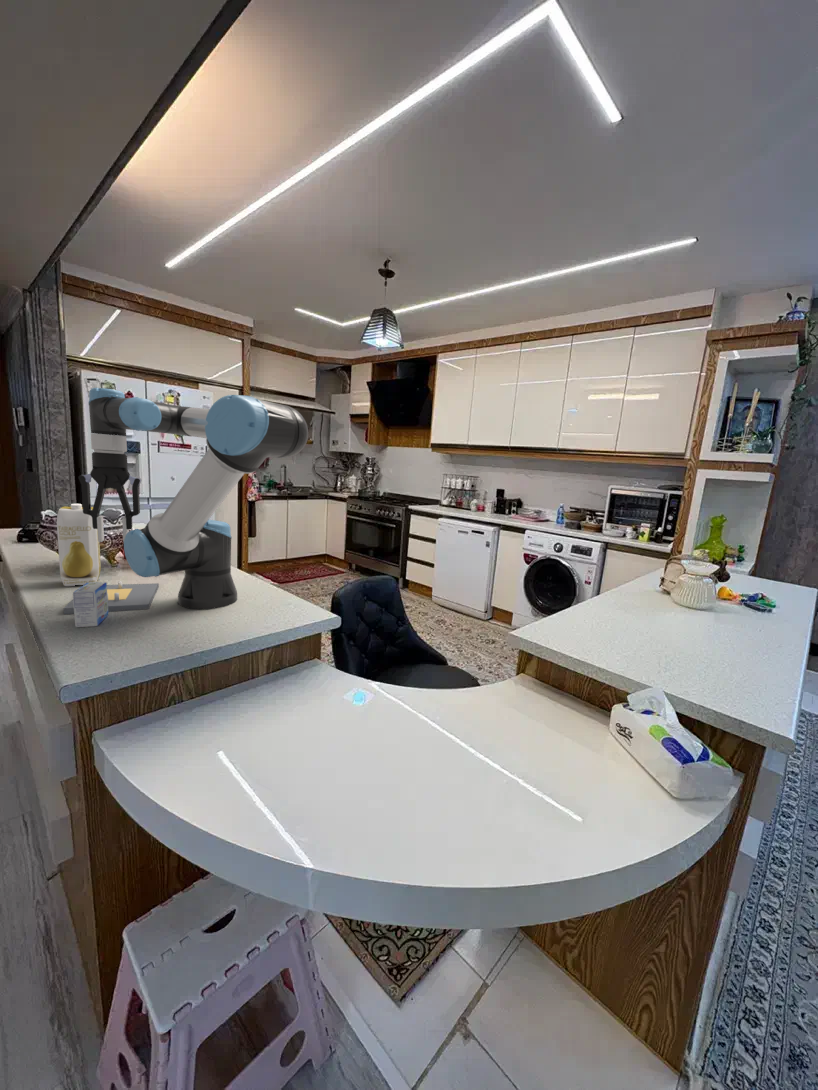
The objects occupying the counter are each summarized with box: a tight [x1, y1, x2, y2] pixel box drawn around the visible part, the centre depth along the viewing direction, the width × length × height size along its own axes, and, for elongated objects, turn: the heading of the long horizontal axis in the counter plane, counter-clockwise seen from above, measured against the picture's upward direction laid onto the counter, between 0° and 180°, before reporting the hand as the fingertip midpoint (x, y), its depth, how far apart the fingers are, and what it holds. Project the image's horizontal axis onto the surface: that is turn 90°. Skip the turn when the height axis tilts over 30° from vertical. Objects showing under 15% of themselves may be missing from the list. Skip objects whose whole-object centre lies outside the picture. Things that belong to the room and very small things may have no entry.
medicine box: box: [72, 581, 109, 628], centre depth 103 cm, size 8×4×9 cm, turn 18°
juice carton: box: [56, 503, 102, 587], centre depth 128 cm, size 9×8×24 cm
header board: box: [63, 581, 160, 615], centre depth 119 cm, size 18×20×4 cm
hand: (113, 540), depth 116 cm, fingers open, 5 cm apart
